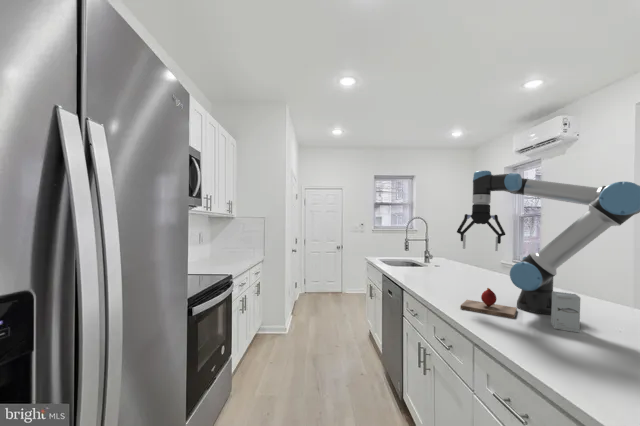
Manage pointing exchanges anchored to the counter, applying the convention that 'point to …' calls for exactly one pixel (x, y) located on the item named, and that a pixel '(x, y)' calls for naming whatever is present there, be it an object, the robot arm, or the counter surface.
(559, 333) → the counter surface
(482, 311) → the walnut board
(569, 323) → the supplement box
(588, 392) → the counter surface
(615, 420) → the counter surface
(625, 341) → the counter surface
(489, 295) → the onion
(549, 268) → the robot arm
